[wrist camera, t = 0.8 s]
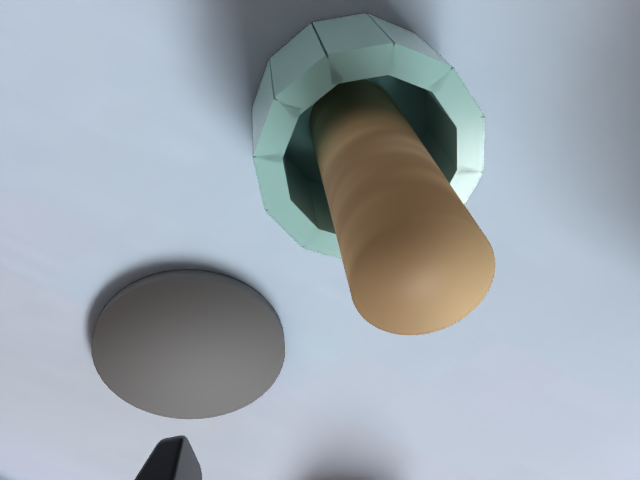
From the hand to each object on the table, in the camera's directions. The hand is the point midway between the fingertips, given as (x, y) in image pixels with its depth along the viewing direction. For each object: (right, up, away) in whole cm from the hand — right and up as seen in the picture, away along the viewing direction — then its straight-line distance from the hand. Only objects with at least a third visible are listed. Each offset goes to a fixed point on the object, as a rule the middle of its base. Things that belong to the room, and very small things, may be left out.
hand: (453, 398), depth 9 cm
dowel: (-1, +7, +10) cm, 12 cm away
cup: (-1, +7, +10) cm, 12 cm away
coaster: (-8, -2, +15) cm, 17 cm away
